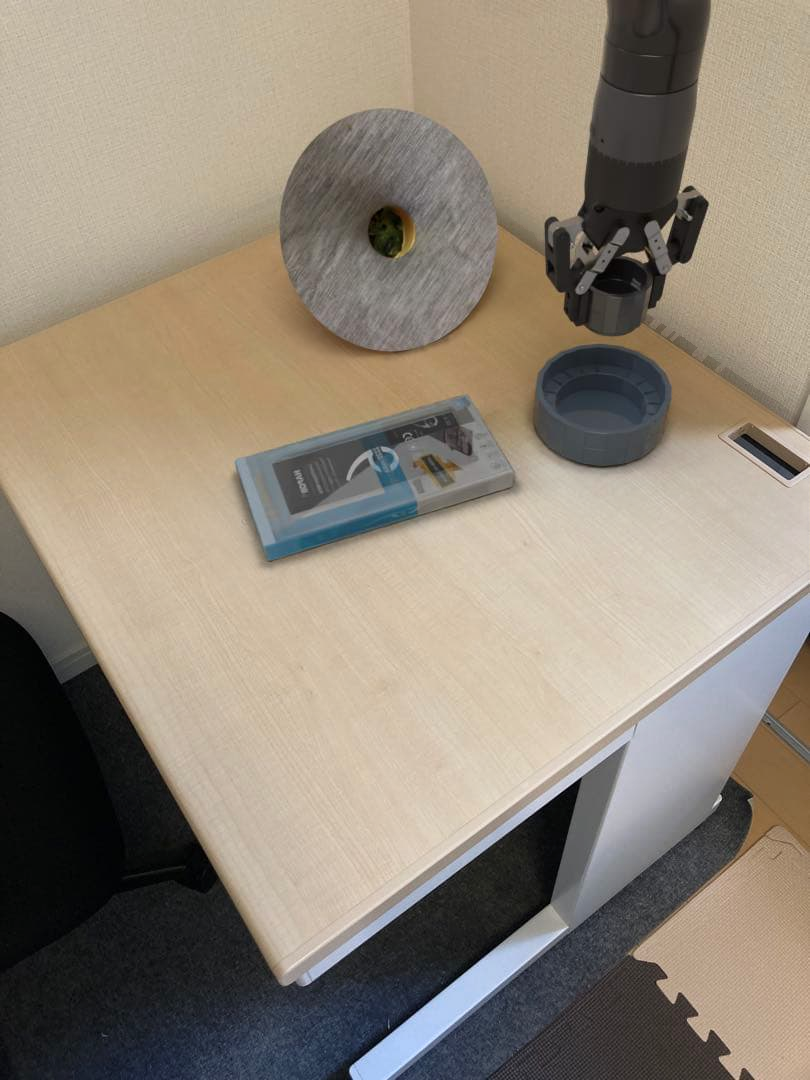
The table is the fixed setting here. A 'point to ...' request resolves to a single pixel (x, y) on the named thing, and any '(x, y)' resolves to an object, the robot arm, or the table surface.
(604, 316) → the black cup
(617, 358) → the grey bowl
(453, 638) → the table surface
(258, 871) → the table surface
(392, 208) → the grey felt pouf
